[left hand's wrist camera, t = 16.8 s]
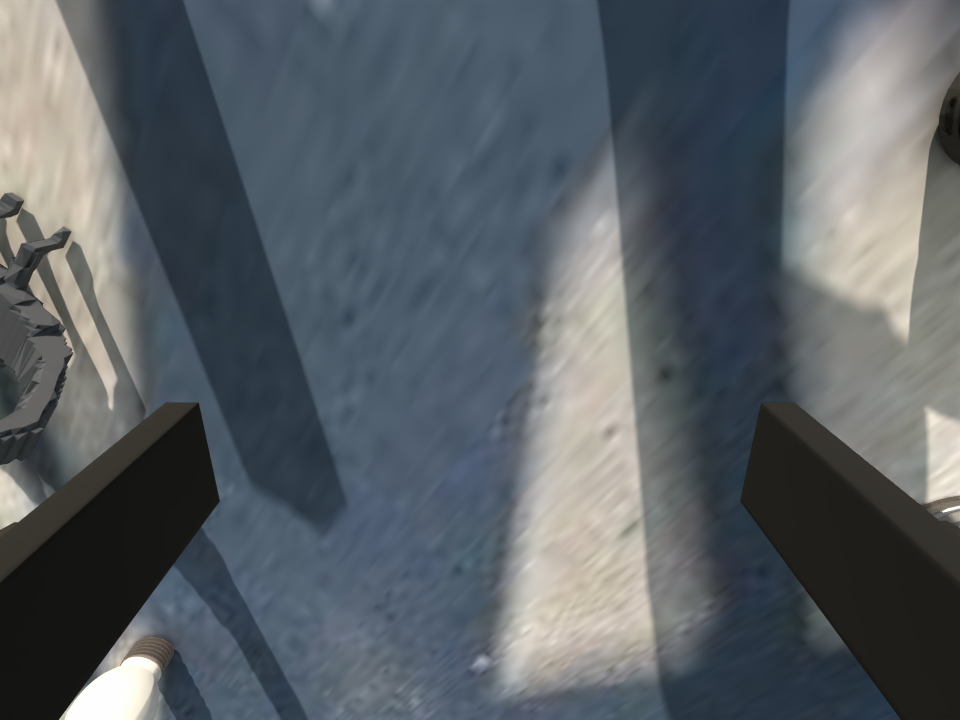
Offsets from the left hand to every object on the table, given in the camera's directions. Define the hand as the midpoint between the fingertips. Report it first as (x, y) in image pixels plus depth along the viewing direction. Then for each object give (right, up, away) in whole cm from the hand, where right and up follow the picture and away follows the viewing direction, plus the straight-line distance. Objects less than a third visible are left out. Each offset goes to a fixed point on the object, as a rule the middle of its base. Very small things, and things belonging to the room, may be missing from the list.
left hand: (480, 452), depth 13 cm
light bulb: (-33, -27, +41) cm, 59 cm away
